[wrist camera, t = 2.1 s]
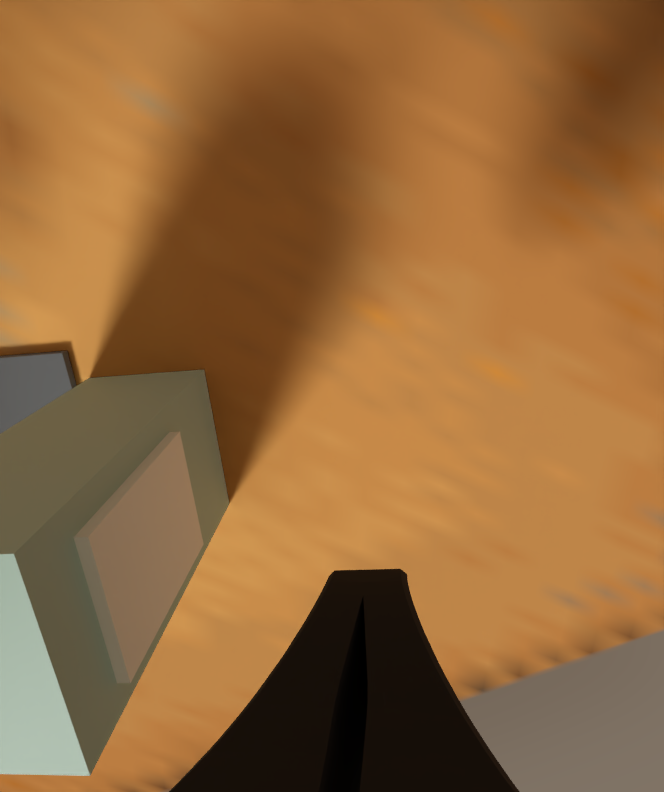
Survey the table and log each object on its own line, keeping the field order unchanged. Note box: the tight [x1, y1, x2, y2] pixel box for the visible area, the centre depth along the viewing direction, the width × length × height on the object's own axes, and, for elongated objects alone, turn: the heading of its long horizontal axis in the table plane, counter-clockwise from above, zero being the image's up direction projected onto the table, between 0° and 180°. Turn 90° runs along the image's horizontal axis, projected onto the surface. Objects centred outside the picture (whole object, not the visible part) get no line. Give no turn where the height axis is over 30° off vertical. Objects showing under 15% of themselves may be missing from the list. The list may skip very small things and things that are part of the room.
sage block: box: [0, 369, 229, 776], centre depth 15 cm, size 4×5×10 cm
